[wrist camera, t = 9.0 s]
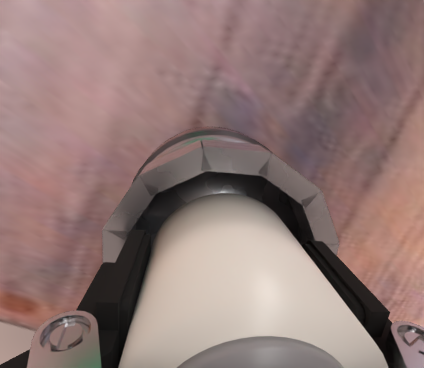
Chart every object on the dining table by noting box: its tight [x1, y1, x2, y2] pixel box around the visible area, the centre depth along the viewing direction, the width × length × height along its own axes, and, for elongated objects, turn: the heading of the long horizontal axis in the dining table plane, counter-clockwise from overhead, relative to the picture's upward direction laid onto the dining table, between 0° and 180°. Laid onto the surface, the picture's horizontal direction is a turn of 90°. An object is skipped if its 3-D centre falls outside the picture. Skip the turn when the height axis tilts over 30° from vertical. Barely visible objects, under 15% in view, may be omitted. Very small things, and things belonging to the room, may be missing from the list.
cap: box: [118, 193, 388, 368], centre depth 8 cm, size 6×6×6 cm
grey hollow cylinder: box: [102, 127, 339, 263], centre depth 16 cm, size 10×10×10 cm
